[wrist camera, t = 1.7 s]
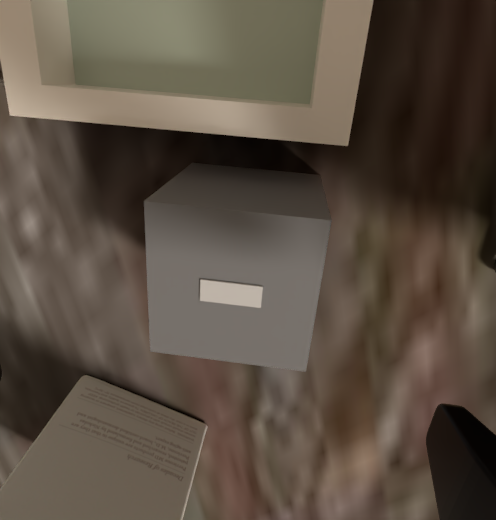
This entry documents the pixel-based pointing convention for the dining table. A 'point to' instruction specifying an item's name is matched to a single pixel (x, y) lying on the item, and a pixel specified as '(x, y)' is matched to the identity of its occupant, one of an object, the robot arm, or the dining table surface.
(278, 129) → the white grey flat device
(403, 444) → the dining table surface
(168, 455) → the supplement box
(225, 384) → the dining table surface
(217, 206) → the block
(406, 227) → the dining table surface
